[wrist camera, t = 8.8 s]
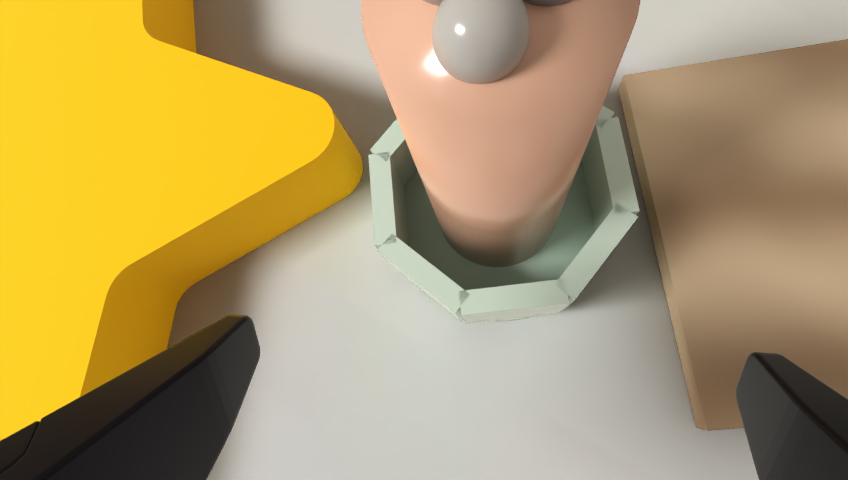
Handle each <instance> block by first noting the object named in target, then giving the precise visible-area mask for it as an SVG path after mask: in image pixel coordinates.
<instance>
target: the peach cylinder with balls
mask: <svg viewBox="0 0 848 480" xmlns="http://www.w3.org/2000/svg"><path fill="white" fill-rule="evenodd" d="M639 5H640V0H362V9H361V17H362V26H363V32H364V35H365V39H366V42H367V45H368V48H369V50H370V53H371V55H372V58H373V60H374V63H375V65H376V68H377V70H378V73H379V75H380V78H381V80H382V83H383V85H384V88H385V90H386V93H387V95H388V98H389V100H390V103H391V105H392V108H393V110H394V113H395V115H396V118H397V120H398V123H399V125H400V128H401V130H402V133H403V135H404V138H405V140H406V143H407V145H408V148H409V150H410V153H411V155H412V158H413V160H414V163H415V165H416V167H417V170H418V172H419V175H420V177H421V180H422V182H423V185H424V187H425V190H426V192H427V195H428V197H429V200H430V202H431V205H432V207H433V210H434V212H435V215H436V217H437V220H438V222H439V225H440V227H441V230H442V232H443V234H444V237H445V238H446V240H447V241H448V243H449V244H450V245H451V247H452V248H453V249H454V250H455V251H456V252H457V253H458V254H460V255H461V256H462V257H464V258H465V259H467V260H469V261H471V262H473V263H476V264H479V265H483V266H488V267H506V266H512V265H515V264H519V263H521V262H523V261H525V260H527V259H529V258H531V257H532V256H534V255H535V254H536V253H537V252H539V251H540V250H541V249H542V248H543V246H544V245H545V244H546V243H547V241H548V240H549V238H550V236H551V234H552V232H553V230H554V227H555V225H556V222H557V220H558V217H559V215H560V212H561V210H562V207H563V205H564V202H565V200H566V197H567V195H568V192H569V190H570V187H571V185H572V182H573V179H574V177H575V174H576V172H577V169H578V167H579V164H580V162H581V159H582V157H583V154H584V152H585V149H586V147H587V144H588V142H589V139H590V137H591V134H592V132H593V129H594V126H595V124H596V121H597V119H598V116H599V114H600V111H601V109H602V106H603V104H604V101H605V99H606V96H607V94H608V91H609V89H610V86H611V84H612V81H613V78H614V76H615V73H616V71H617V68H618V66H619V63H620V61H621V58H622V56H623V53H624V51H625V48H626V46H627V43H628V41H629V38H630V36H631V33H632V30H633V27H634V25H635V22H636V19H637V15H638V10H639Z"/></svg>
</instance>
